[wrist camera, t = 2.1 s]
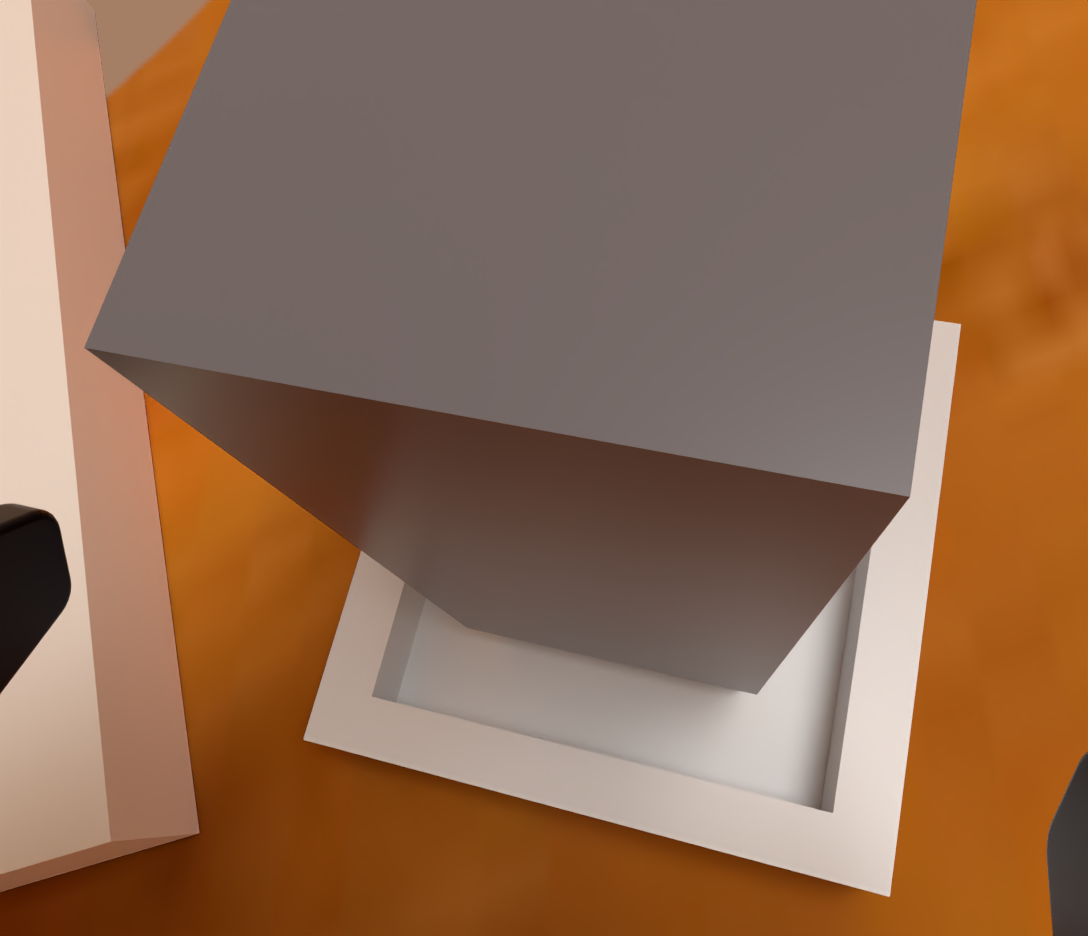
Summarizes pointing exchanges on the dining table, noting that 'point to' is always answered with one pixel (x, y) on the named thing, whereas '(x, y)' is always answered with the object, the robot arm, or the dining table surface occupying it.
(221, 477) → the dining table surface
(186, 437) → the dining table surface
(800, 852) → the tray
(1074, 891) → the robot arm
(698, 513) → the plug
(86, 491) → the power strip
